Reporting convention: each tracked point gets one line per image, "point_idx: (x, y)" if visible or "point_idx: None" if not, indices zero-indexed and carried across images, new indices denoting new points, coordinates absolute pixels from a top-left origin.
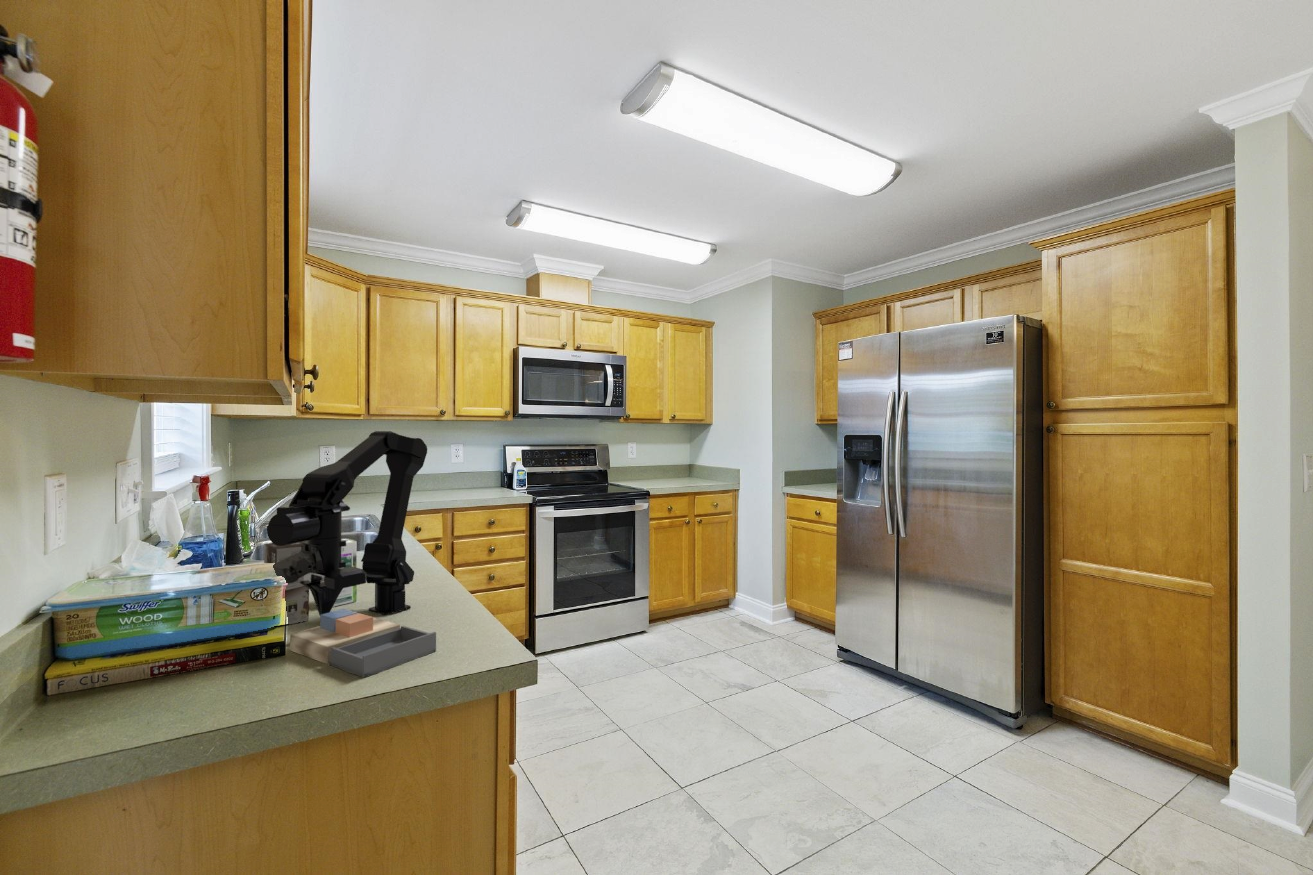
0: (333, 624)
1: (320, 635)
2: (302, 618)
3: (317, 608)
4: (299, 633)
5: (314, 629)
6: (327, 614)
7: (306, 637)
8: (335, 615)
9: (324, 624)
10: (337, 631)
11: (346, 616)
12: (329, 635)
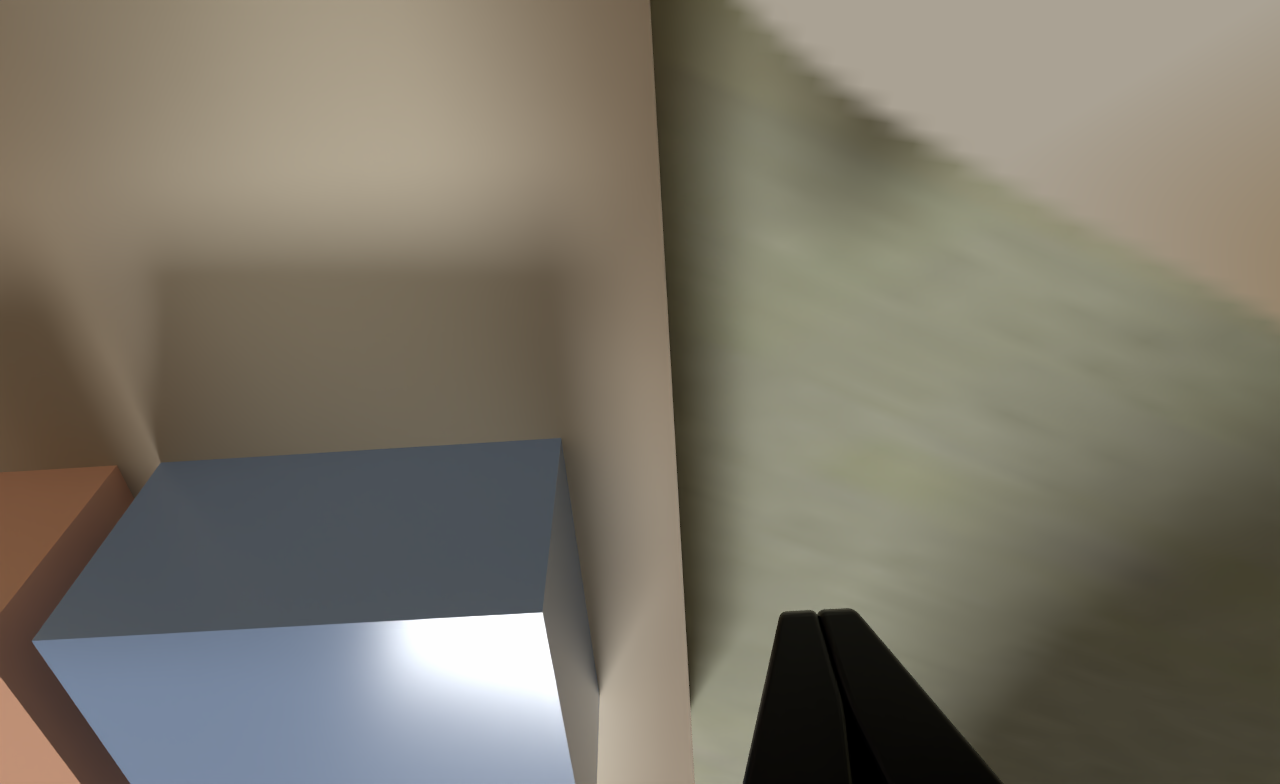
0: (112, 552)
1: (114, 278)
2: None
3: (936, 718)
4: (521, 92)
5: (556, 357)
6: (447, 678)
7: (144, 65)
8: (272, 720)
9: (417, 499)
10: (39, 489)
11: (76, 778)
12: (13, 362)
